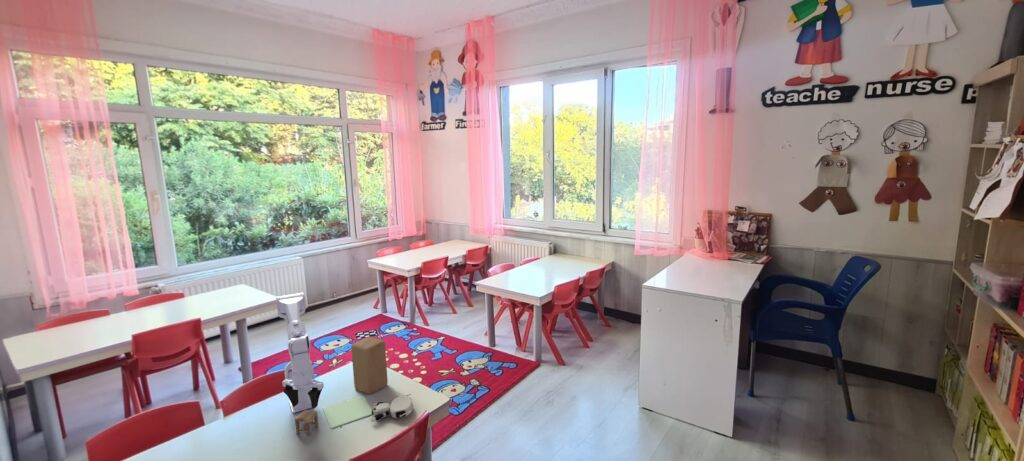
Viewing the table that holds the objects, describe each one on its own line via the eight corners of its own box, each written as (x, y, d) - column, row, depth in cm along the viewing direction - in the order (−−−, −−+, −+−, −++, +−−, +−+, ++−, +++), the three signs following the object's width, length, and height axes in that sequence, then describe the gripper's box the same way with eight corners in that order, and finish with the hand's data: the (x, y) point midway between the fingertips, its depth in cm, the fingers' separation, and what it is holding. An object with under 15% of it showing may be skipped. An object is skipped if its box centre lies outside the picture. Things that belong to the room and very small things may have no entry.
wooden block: (388, 384, 178) (385, 340, 175) (369, 396, 170) (366, 349, 167) (372, 378, 184) (369, 335, 180) (353, 389, 175) (349, 344, 172)
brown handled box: (296, 434, 147) (294, 418, 146) (305, 425, 152) (304, 410, 151) (309, 435, 146) (307, 419, 145) (318, 426, 151) (316, 411, 150)
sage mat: (322, 408, 162) (322, 407, 162) (362, 396, 170) (362, 395, 170) (331, 428, 149) (331, 427, 149) (373, 414, 158) (373, 413, 158)
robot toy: (370, 429, 151) (413, 420, 153) (368, 418, 150) (411, 409, 153) (374, 409, 162) (413, 402, 165) (372, 399, 162) (412, 391, 164)
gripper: (274, 374, 142) (278, 410, 145) (313, 377, 140) (316, 414, 142) (289, 364, 149) (292, 399, 151) (325, 367, 147) (329, 403, 149)
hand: (305, 406), depth 147 cm, fingers open, 7 cm apart
